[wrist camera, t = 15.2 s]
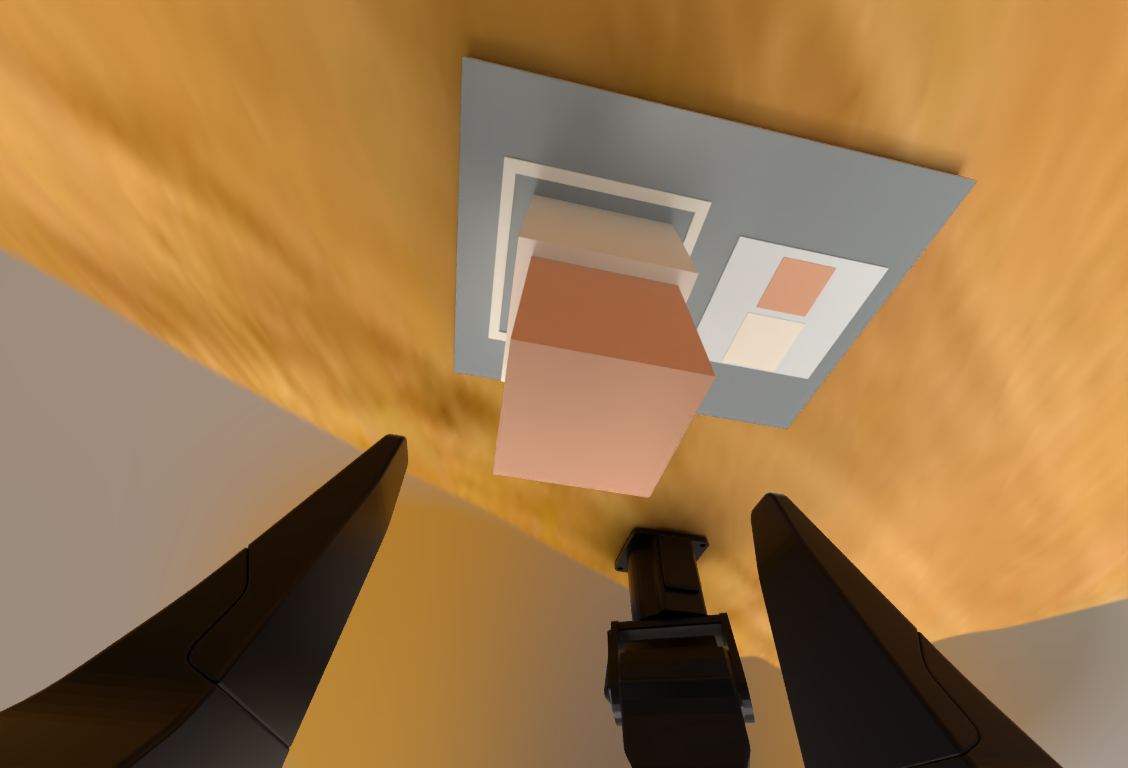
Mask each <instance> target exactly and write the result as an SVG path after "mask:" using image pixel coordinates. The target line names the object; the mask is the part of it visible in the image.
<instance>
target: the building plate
mask: <svg viewBox="0 0 1128 768" xmlns="http://www.w3.org/2000/svg"><path fill="white" fill-rule="evenodd" d="M976 182H977V181H975V180H972V179H969V178H966V177H963V176H960V175H956V174H952V173H947V172H943V171H939V170H935V169H931V168H927V167H923V166H919V165H914V164H910V163H906V162H902V161H898V160H894V159H890V158H885V157H881V156H877V155H873V154H869V153H865V152H861V151H857V150H852V149H848V148H844V147H840V146H836V145H832V144H828V143H824V142H819V141H815V140H811V139H807V138H803V137H799V136H795V135H790V134H786V133H782V132H778V131H774V130H770V129H766V128H762V127H757V126H753V125H749V124H745V123H741V122H737V121H733V120H729V119H724V118H720V117H716V116H712V115H708V114H704V113H700V112H695V111H691V110H687V109H683V108H679V107H675V106H671V105H667V104H662V103H658V102H654V101H650V100H646V99H642V98H638V97H634V96H629V95H625V94H621V93H617V92H613V91H609V90H605V89H600V88H596V87H592V86H588V85H584V84H580V83H576V82H572V81H567V80H563V79H559V78H555V77H551V76H547V75H543V74H539V73H534V72H530V71H526V70H522V69H518V68H514V67H510V66H505V65H501V64H497V63H493V62H489V61H485V60H481V59H477V58H472V57H462V84H461V121H460V159H459V197H458V234H457V272H456V310H455V348H454V372H456V373H461V374H467V375H473V376H479V377H485V378H491V379H497V380H501V375H502V367H503V359H504V350H505V342H506V334H507V326H508V318H509V310H510V302H511V293H512V285H513V277H514V269H515V261H516V253H517V245H518V237H519V234H520V231H521V228H522V225H523V222H524V220H525V217H526V214H527V211H528V208H529V205H530V202H531V200H532V197H533V194H534V195H539V196H543V197H548V198H552V199H557V200H562V201H566V202H571V203H576V204H580V205H585V206H589V207H594V208H599V209H603V210H608V211H613V212H617V213H622V214H627V215H631V216H636V217H640V218H645V219H650V220H654V221H659V222H664V223H668V224H673V226H674V228H675V230H676V231H677V233H678V235H679V237H680V239H681V241H682V243H683V245H684V247H685V248H686V250H687V252H688V254H689V256H690V258H691V260H692V262H693V264H694V265H695V267H696V269H697V271H698V273H699V274H698V277H697V279H696V281H695V284H694V286H693V288H692V291H691V293H690V295H689V298H688V300H687V302H686V305H687V308H688V310H689V312H690V315H691V317H692V320H693V322H694V325H695V327H696V329H697V332H698V334H699V337H700V339H701V341H702V344H703V346H704V349H705V351H706V353H707V356H708V358H709V361H710V363H711V366H712V368H713V370H714V373H715V375H716V378H715V379H714V381H713V383H712V385H711V387H710V389H709V390H708V392H707V394H706V396H705V398H704V399H703V401H702V403H701V405H700V407H699V408H698V410H697V412H696V414H702V415H708V416H713V417H719V418H725V419H731V420H737V421H743V422H749V423H754V424H760V425H766V426H772V427H778V428H784V429H787V428H788V427H789V426H790V425H791V423H792V422H793V421H794V419H795V418H796V417H797V415H798V414H799V413H800V412H801V410H802V409H803V408H804V406H805V405H806V404H807V402H808V401H809V400H810V399H811V397H812V396H813V395H814V393H815V392H816V391H817V389H818V388H819V387H820V385H821V384H822V383H823V382H824V380H825V379H826V378H827V376H828V375H829V374H830V372H831V371H832V370H833V369H834V367H835V366H836V365H837V363H838V362H839V361H840V359H841V358H842V357H843V356H844V354H845V353H846V352H847V350H848V349H849V348H850V346H851V345H852V344H853V343H854V341H855V340H856V339H857V337H858V336H859V335H860V333H861V332H862V331H863V329H864V328H865V327H866V326H867V324H868V323H869V322H870V320H871V319H872V318H873V316H874V315H875V314H876V313H877V311H878V310H879V309H880V307H881V306H882V305H883V303H884V302H885V301H886V300H887V298H888V297H889V296H890V294H891V293H892V292H893V290H894V289H895V288H896V286H897V285H898V284H899V283H900V281H901V280H902V279H903V277H904V276H905V275H906V273H907V272H908V271H909V270H910V268H911V267H912V266H913V264H914V263H915V262H916V260H917V259H918V258H919V257H920V255H921V254H922V253H923V251H924V250H925V249H926V247H927V246H928V245H929V244H930V242H931V241H932V240H933V238H934V237H935V236H936V234H937V233H938V232H939V230H940V229H941V228H942V227H943V225H944V224H945V223H946V221H947V220H948V219H949V217H950V216H951V215H952V214H953V212H954V211H955V210H956V208H957V207H958V206H959V204H960V203H961V202H962V201H963V199H964V198H965V197H966V195H967V194H968V193H969V191H970V190H971V189H972V187H973V186H974V185H975V184H976Z"/></svg>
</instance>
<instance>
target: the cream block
mask: <svg viewBox="0 0 1128 768" xmlns="http://www.w3.org/2000/svg"><path fill="white" fill-rule="evenodd" d="M531 256H536V257H541V258H546V259H550V260H555V261H560V262H565V263H570V264H575V265H580V266H585V267H590V268H595V269H600V270H605V271H610V272H615V273H620V274H625V275H629V276H634V277H639V278H644V279H649V280H654V281H659V282H664V283H669V284H674V285H678V286H679V288H680V291H681V293H682V296H683V298H684V300H685V303H686V302H687V300H688V298H689V295H690V293H691V291H692V288H693V286H694V284H695V281H696V279H697V277H698V274H699V273H698V271H697V269H696V267H695V265H694V264H693V262H692V260H691V258H690V256H689V254H688V252H687V250H686V248H685V247H684V245H683V243H682V241H681V239H680V237H679V235H678V233H677V231H676V230H675V228H674V226H673V224H668V223H664V222H659V221H654V220H650V219H645V218H640V217H636V216H631V215H627V214H622V213H617V212H613V211H608V210H603V209H599V208H594V207H589V206H585V205H580V204H576V203H571V202H566V201H562V200H557V199H552V198H548V197H543V196H539V195H534V194H533V197H532V200H531V202H530V205H529V208H528V211H527V214H526V217H525V220H524V222H523V225H522V228H521V231H520V234H519V237H518V245H517V253H516V261H515V269H514V277H513V285H512V293H511V302H510V310H509V318H508V326H507V334H506V342H505V350H504V359H503V367H502V375H501V382H505V376H506V369H507V361H508V353H509V346H510V339H511V335H512V331H513V327H514V323H515V319H516V315H517V311H518V307H519V303H520V299H521V295H522V291H523V288H524V284H525V280H526V276H527V272H528V268H529V264H530V260H531Z"/></svg>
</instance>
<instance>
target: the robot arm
mask: <svg viewBox="0 0 1128 768" xmlns="http://www.w3.org/2000/svg"><path fill="white" fill-rule="evenodd" d="M407 465H408V451H407V440H406V438H405V437H404V436H400V435H393V434H388V435H386V436H384V437H383V438H382V439H380V440H379V441H378V442H377V443H375V444H374V445H373V446H372V447H370V448H369V449H368V450H367V451H365V452H364V453H363V454H362V455H360V456H359V457H358V458H357V459H355V460H354V461H353V462H352V463H350V464H349V465H348V466H347V467H346V468H344V469H343V470H342V471H340V472H339V473H338V474H337V475H336V476H334V477H333V478H332V479H330V480H329V481H328V482H327V483H325V484H324V485H323V486H322V487H320V488H319V489H318V490H317V491H315V492H314V493H313V494H312V495H310V496H309V497H308V498H307V499H306V500H304V501H303V502H302V503H300V504H299V505H298V506H297V507H295V508H294V509H293V510H292V511H290V512H289V513H288V514H287V515H285V516H284V517H283V518H282V519H280V520H279V521H278V522H277V523H275V524H274V525H273V526H272V527H270V528H269V529H268V530H267V531H265V532H264V533H263V534H262V535H260V536H259V537H258V538H257V539H255V540H254V541H253V542H252V543H250V544H249V545H248V548H244V549H243V550H242V551H240V552H239V553H238V554H236V555H235V556H234V557H233V558H231V559H230V560H229V561H228V562H226V563H225V564H224V565H222V566H221V567H220V568H219V569H217V570H216V571H215V572H213V573H212V574H211V575H209V576H208V577H207V578H206V579H204V580H203V581H202V582H200V583H199V584H198V585H196V586H195V587H193V588H192V589H191V590H189V591H188V592H187V593H185V594H184V595H183V596H181V597H179V598H178V599H177V600H175V601H174V602H172V603H171V604H170V605H168V606H167V607H165V608H164V609H163V610H161V611H160V612H158V613H157V614H155V615H154V616H152V617H151V618H149V619H148V620H147V621H145V622H144V623H142V624H141V625H140V626H138V627H136V628H135V629H133V630H132V631H130V632H129V633H128V634H126V635H125V636H123V637H122V638H120V639H119V640H117V641H116V642H114V643H113V644H112V645H110V646H109V647H107V648H106V649H104V650H103V651H101V652H100V653H99V654H97V655H95V656H94V657H93V658H91V659H90V660H88V661H87V662H85V663H84V664H83V665H81V666H79V667H78V668H76V669H75V670H74V671H72V672H71V673H69V674H67V675H66V676H64V677H63V678H61V679H60V680H58V681H57V682H55V683H53V684H51V685H50V686H48V687H47V688H45V689H43V690H42V691H40V692H38V693H36V694H34V695H32V696H30V697H29V698H27V699H25V700H24V701H21V702H19V703H17V704H15V705H13V706H11V707H9V708H7V709H5V710H3V711H1V712H0V768H282V766H283V763H284V761H285V759H286V757H287V754H288V752H289V747H290V746H291V745H292V743H293V740H294V738H295V736H296V734H297V731H298V729H299V727H300V725H301V723H302V720H303V718H304V716H305V714H306V711H307V709H308V707H309V705H310V702H311V700H312V698H313V696H314V693H315V691H316V689H317V686H318V684H319V682H320V680H321V678H322V675H323V673H324V671H325V668H326V666H327V664H328V662H329V660H330V657H331V655H332V653H333V651H334V648H335V646H336V644H337V642H338V639H339V637H340V635H341V633H342V631H343V628H344V626H345V624H346V622H347V619H348V617H349V615H350V613H351V610H352V608H353V606H354V604H355V601H356V599H357V597H358V595H359V592H360V590H361V587H362V586H363V583H364V581H365V579H366V577H367V574H368V572H369V570H370V567H371V565H372V563H373V561H374V559H375V556H376V554H377V552H378V550H379V547H380V545H381V543H382V541H383V538H384V536H385V533H386V531H387V529H388V526H389V523H390V520H391V517H392V514H393V510H394V507H395V504H396V501H397V498H398V494H399V491H400V488H401V485H402V482H403V478H404V475H405V472H406V469H407ZM751 525H752V532H753V539H754V547H755V554H756V561H757V569H758V574H759V580H760V584H761V589H762V593H763V597H764V601H765V605H766V609H767V613H768V617H769V622H770V626H771V630H772V634H773V638H774V642H775V646H776V650H777V655H778V659H779V663H780V667H781V671H782V675H783V679H784V683H785V687H786V691H787V695H788V700H789V704H790V708H791V712H792V716H793V720H794V724H795V728H796V733H797V737H798V740H799V745H800V749H801V753H802V757H803V761H804V765H805V768H1063V767H1062V766H1061V765H1059V764H1058V763H1057V762H1056V761H1055V760H1054V759H1053V758H1052V757H1051V756H1050V755H1049V754H1047V753H1046V752H1045V751H1044V750H1043V749H1042V748H1041V747H1040V746H1039V745H1038V744H1036V742H1034V741H1033V740H1032V739H1031V738H1030V737H1029V736H1028V735H1027V734H1026V733H1025V732H1024V731H1023V730H1021V729H1020V728H1019V727H1018V726H1017V725H1016V724H1015V723H1014V722H1013V721H1012V720H1011V719H1010V718H1008V717H1007V716H1006V715H1005V714H1004V713H1003V712H1002V711H1001V710H1000V709H999V708H997V706H995V705H994V704H993V703H992V702H991V701H990V700H989V699H988V698H987V697H986V696H985V695H984V694H983V693H982V692H980V691H979V690H978V689H977V688H976V687H975V686H974V685H973V684H972V683H971V682H970V681H969V680H968V679H967V678H966V677H965V676H964V675H962V674H961V673H960V672H959V671H958V670H957V669H956V668H955V667H954V666H953V665H952V664H951V663H950V662H949V661H948V660H947V659H946V658H945V657H944V656H943V655H942V654H941V653H940V652H939V651H938V650H937V649H936V648H935V647H934V646H933V645H932V644H931V643H930V642H929V641H928V640H927V639H926V638H925V637H924V636H923V634H922V633H920V632H917V629H916V627H915V626H914V625H913V624H912V623H911V622H910V621H909V620H908V619H907V618H906V617H905V616H904V615H903V614H902V613H901V612H900V611H899V610H898V609H897V608H896V607H895V606H894V605H893V604H892V603H891V602H890V601H889V600H888V599H887V598H886V597H885V596H884V595H883V594H882V593H881V592H880V591H879V590H878V589H877V588H876V587H875V586H874V585H873V584H872V583H871V582H870V581H869V580H868V579H867V578H866V577H865V576H864V575H863V574H862V573H861V572H860V570H859V569H858V568H857V567H856V566H855V565H854V564H853V563H852V562H851V561H850V560H849V559H848V558H847V557H846V556H845V555H844V554H843V553H842V552H841V551H840V550H839V549H838V548H837V547H836V546H835V545H834V544H833V543H832V542H831V541H830V540H829V539H828V538H827V537H826V536H825V535H824V534H823V533H822V532H821V531H820V530H819V529H818V528H817V527H816V526H815V525H814V524H813V523H812V522H811V521H810V520H809V519H808V518H807V517H806V516H805V514H804V513H803V512H802V511H801V510H800V509H799V508H798V507H797V506H796V505H795V504H794V503H793V502H792V501H791V500H790V499H789V498H788V497H787V496H785V495H783V494H777V493H767V494H766V495H764V497H763V498H762V499H761V500H760V501H759V503H758V504H757V505H756V506H755V507H754V509H753V510H752V512H751ZM708 546H709V543H708V540H707V539H706V538H701V537H694V536H687V535H680V534H673V533H666V532H659V531H652V530H645V529H635V530H633V531H632V533H631V535H630V537H629V539H628V540H627V542H626V544H625V546H624V548H623V549H622V551H621V553H620V555H619V557H618V559H617V560H616V562H615V570H617V571H621V572H628V579H629V590H630V602H631V613H632V621H626V622H619V621H611V630H609V631H608V632H607V634H608V662H607V670H606V678H605V687H604V694H605V698H606V699H607V700H608V701H609V702H610V704H611V706H612V710H613V713H614V718H615V721H616V724H617V725H618V726H622V730H623V742H624V750H625V754H626V756H627V758H628V760H629V762H630V764H631V766H632V768H749V767H750V744H749V740H748V736H747V731H746V727H745V723H754V722H755V721H754V714H753V708H752V704H751V699H750V695H749V691H748V687H747V682H746V678H745V675H744V671H743V668H742V664H741V660H740V657H739V653H738V650H737V647H736V643H735V640H734V636H733V633H732V629H731V626H730V622H729V619H728V615H727V613H719V615H707V611H706V606H705V602H704V597H703V593H702V586H701V582H700V577H699V573H698V568H697V564H696V561H697V560H698V559H699V557H700V556H701V555H702V554H703V552H704V551H705V550H706V549H707V547H708ZM723 646H724V647H723Z"/></svg>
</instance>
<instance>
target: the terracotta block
mask: <svg viewBox="0 0 1128 768" xmlns="http://www.w3.org/2000/svg"><path fill="white" fill-rule="evenodd" d="M715 378H716V375H715V373H714V370H713V368H712V366H711V363H710V361H709V358H708V356H707V353H706V351H705V349H704V346H703V344H702V341H701V339H700V337H699V334H698V332H697V329H696V327H695V325H694V322H693V320H692V317H691V315H690V312H689V310H688V308H687V305H686V303H685V300H684V298H683V296H682V293H681V291H680V288H679V286H678V285H674V284H669V283H664V282H659V281H654V280H649V279H644V278H639V277H634V276H629V275H625V274H620V273H615V272H610V271H605V270H600V269H595V268H590V267H585V266H580V265H575V264H570V263H565V262H560V261H555V260H550V259H546V258H541V257H536V256H531V260H530V264H529V268H528V272H527V276H526V280H525V284H524V288H523V291H522V295H521V299H520V303H519V307H518V311H517V315H516V319H515V323H514V327H513V331H512V335H511V339H510V346H509V353H508V361H507V369H506V376H505V384H504V391H503V399H502V406H501V414H500V421H499V429H498V437H497V444H496V452H495V459H494V467H493V474H495V475H502V476H509V477H515V478H522V479H528V480H535V481H542V482H548V483H555V484H562V485H568V486H575V487H581V488H588V489H595V490H601V491H608V492H615V493H621V494H628V495H635V496H641V497H648V498H650V496H651V494H652V492H653V490H654V488H655V487H656V485H657V483H658V481H659V479H660V478H661V476H662V474H663V472H664V470H665V468H666V467H667V465H668V463H669V461H670V459H671V458H672V456H673V454H674V452H675V450H676V448H677V447H678V445H679V443H680V441H681V439H682V438H683V436H684V434H685V432H686V430H687V428H688V427H689V425H690V423H691V421H692V419H693V418H694V416H695V414H696V412H697V410H698V408H699V407H700V405H701V403H702V401H703V399H704V398H705V396H706V394H707V392H708V390H709V389H710V387H711V385H712V383H713V381H714V379H715Z"/></svg>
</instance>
